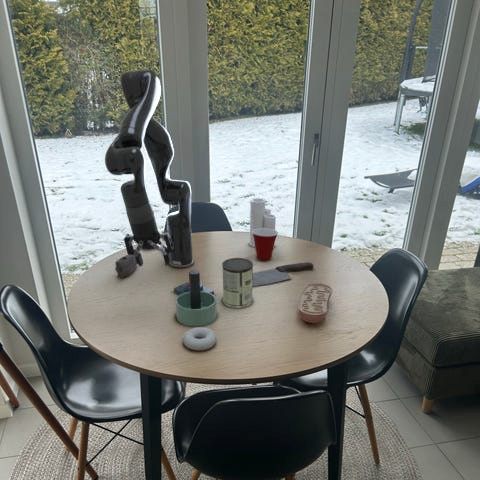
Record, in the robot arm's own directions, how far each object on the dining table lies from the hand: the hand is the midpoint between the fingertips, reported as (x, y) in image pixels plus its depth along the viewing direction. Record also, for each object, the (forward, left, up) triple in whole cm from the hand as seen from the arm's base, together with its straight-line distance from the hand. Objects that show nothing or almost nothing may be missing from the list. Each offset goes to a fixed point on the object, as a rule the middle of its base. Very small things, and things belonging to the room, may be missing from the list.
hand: (154, 264), depth 147 cm
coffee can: (+12, +25, -18) cm, 33 cm away
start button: (-3, +18, -14) cm, 23 cm away
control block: (-3, +18, -18) cm, 25 cm away
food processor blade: (+10, +7, -17) cm, 21 cm away
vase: (-18, +71, -18) cm, 75 cm away
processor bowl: (+10, +8, -18) cm, 22 cm away
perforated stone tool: (-35, +12, -18) cm, 41 cm away
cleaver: (+9, +52, -18) cm, 55 cm away
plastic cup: (-7, +60, -18) cm, 63 cm away
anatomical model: (+35, +38, -18) cm, 54 cm away
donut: (+23, -2, -18) cm, 29 cm away
